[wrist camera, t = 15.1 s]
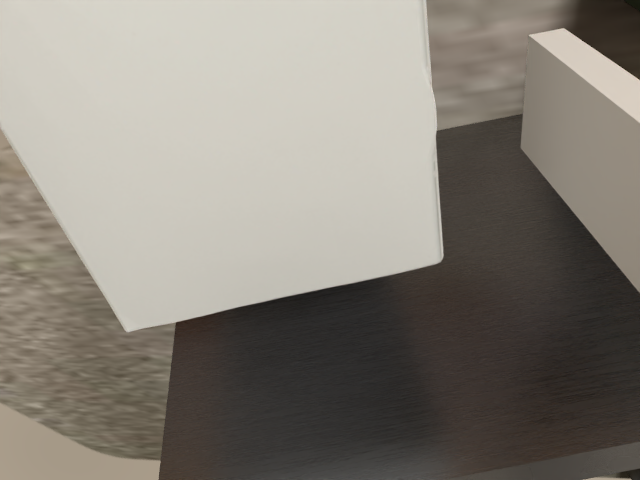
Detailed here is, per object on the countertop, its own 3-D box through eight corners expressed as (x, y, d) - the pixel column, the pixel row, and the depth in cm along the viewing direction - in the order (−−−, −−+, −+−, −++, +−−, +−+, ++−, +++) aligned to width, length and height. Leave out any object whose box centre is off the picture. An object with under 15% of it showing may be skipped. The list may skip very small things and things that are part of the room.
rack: (548, 375, 43) (697, 653, 29) (279, 428, 44) (301, 729, 30) (592, 100, 29) (926, 385, 15) (191, 179, 29) (152, 537, 15)
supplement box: (82, -123, 21) (-111, -18, 9) (320, -180, 21) (433, -146, 9) (168, 101, 27) (117, 344, 15) (355, 59, 26) (452, 270, 15)
